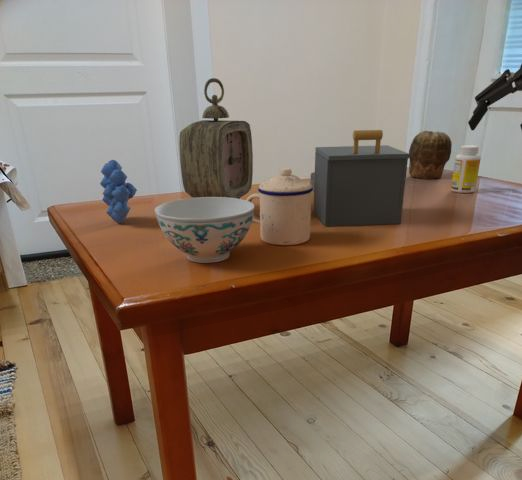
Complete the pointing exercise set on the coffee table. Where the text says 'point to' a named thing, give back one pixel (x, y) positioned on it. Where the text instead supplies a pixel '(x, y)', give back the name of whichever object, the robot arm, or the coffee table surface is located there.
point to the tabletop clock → (216, 153)
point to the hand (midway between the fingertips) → (495, 128)
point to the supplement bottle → (466, 170)
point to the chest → (359, 191)
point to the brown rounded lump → (429, 154)
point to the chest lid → (362, 149)
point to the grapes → (116, 191)
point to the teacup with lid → (284, 209)
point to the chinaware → (205, 225)
